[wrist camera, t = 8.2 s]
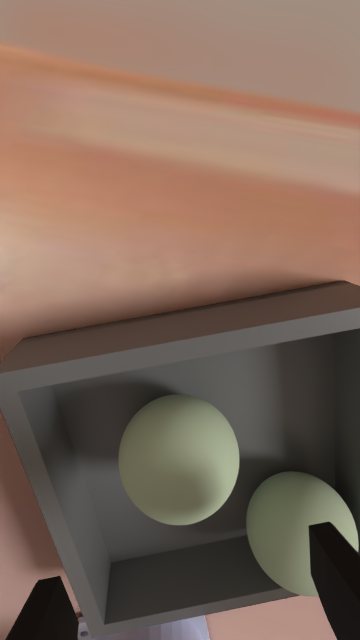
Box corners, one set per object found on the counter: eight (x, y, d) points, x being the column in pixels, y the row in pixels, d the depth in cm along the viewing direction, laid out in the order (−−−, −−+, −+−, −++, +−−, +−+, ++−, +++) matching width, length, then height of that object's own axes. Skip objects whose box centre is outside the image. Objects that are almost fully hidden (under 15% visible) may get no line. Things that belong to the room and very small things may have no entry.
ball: (325, 512, 19) (382, 611, 14) (239, 529, 19) (269, 634, 14) (323, 441, 18) (387, 527, 13) (230, 459, 17) (260, 553, 13)
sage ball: (227, 451, 17) (261, 540, 13) (131, 471, 17) (129, 570, 12) (217, 365, 16) (251, 430, 11) (111, 385, 15) (99, 461, 11)
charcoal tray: (343, 517, 20) (381, 578, 17) (101, 566, 20) (91, 638, 16) (344, 280, 15) (398, 300, 12) (23, 338, 15) (-13, 375, 12)
